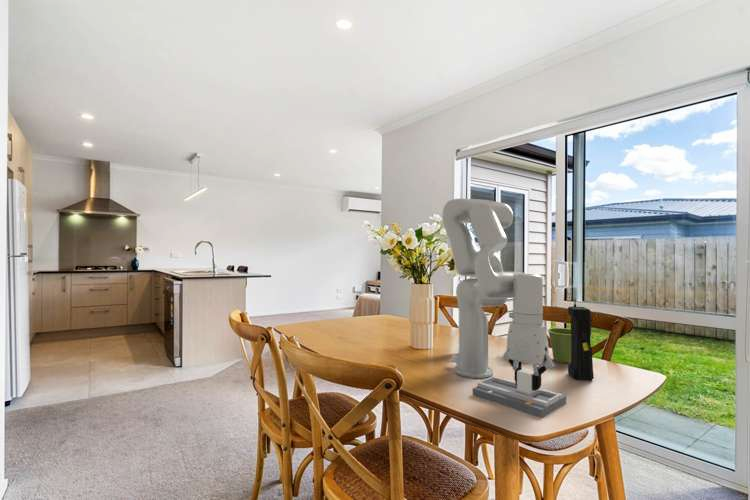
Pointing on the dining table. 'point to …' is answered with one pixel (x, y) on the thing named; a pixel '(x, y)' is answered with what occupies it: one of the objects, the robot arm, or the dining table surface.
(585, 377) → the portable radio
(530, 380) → the fader tab
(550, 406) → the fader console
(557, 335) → the plant pot
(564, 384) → the dining table surface
